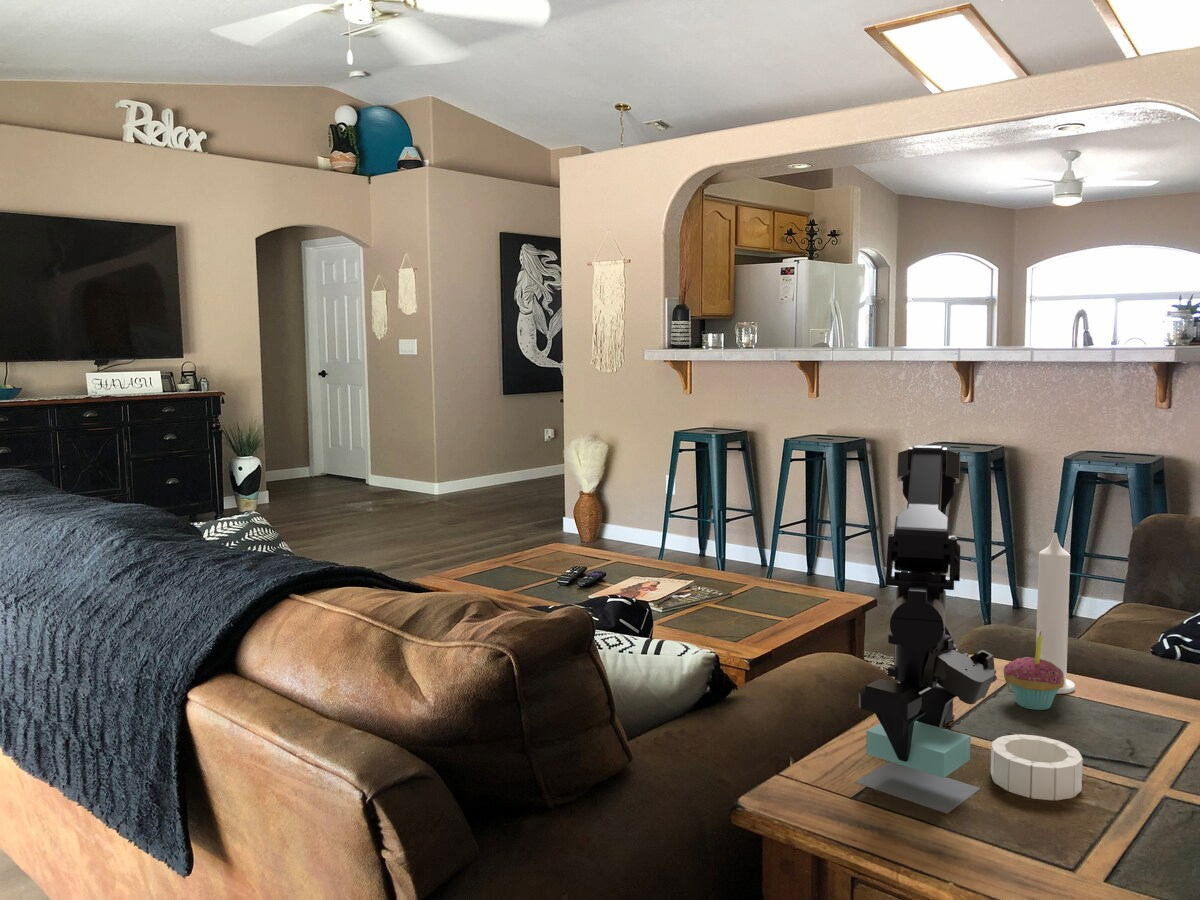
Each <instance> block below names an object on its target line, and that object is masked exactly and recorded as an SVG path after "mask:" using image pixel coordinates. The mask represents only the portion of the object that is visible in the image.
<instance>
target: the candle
mask: <svg viewBox="0 0 1200 900" xmlns="http://www.w3.org/2000/svg"><path fill="white" fill-rule="evenodd" d="M1037 572H1038V573H1037V575H1038V576H1037V577H1038V578H1037V602H1036V603H1037V607H1036V637H1035V639H1036V640H1035V642H1036V643H1035V645H1036V644H1037V636H1039V634H1040V631H1041V636H1042V643H1041V652H1040V659H1041V660H1046V661H1048V662H1051V663H1052V664H1054V665H1055V666H1057V667H1058V668H1059V669H1060V670H1062V672H1063V675H1064V685H1063V687H1062V688H1060V689H1059V690H1058V692H1057V693H1056V694H1069V693H1073V692H1074V691H1075V689H1076V684H1075V683H1074V682H1073V681H1072V680H1070V679H1068V678H1067V670H1068V669H1067V668H1068V667H1067V666H1068V665H1067V664H1068V640H1069V639H1068V638H1069V635H1068V634H1069V609H1070V606H1069V605H1070V579H1071V577H1070V575H1071V554H1070V552H1068V551H1067V550H1066V549H1064V548H1063V547H1062V546H1061V544H1060V541H1059V537H1058V533H1057V532H1053V534H1052V538H1051V541H1050V543H1049V545H1048V546H1047V547H1045V548H1043V549H1042V550H1040V551H1039V552H1038V570H1037Z"/></svg>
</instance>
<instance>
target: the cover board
mask: <svg viewBox="0 0 1200 900" xmlns="http://www.w3.org/2000/svg"><path fill="white" fill-rule="evenodd" d="M865 738H866V744H865V745H866V747H865V748H866V749H865V754H866V755H869V756H872V757H875V758H878V759H880V760H881V759H882V760H884V761H887V762H888V761H890V762H894V763H897V764H900V765H903V766H906V767H909V768H913V769H916V770H919V771H922V772H925V773H929V774H932V775H935V776H938V777H941V778H945V777H947V776H949V775H950V774H952V773H953V772H955V771H956V770H958V769H959V768H961V767H962V766H963V765H964V764H966V763H967V762H969V761H970V760H971V735H969V734H965V733H962V732H958V731H954V730H949V729H946V728H942V727H941V728H940V727H936V726H932V725H929V724H925V723H922V722H918V721H915V722H914V727H913V734H912V741H911V748H910V753H909V758H908V761H907V762H904V761H901V760H899V759H898V758H897V756H896V753H895V751H894V749H893V747H892V745H891V743H890V741H889V739H888V737H887V735H886V733H885V731H884V729H883V727H882V725H881V723H880V722H879V723H878V724H875V725H874V726H872V727H870V728H868V729H866V736H865Z"/></svg>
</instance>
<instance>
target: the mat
mask: <svg viewBox="0 0 1200 900" xmlns="http://www.w3.org/2000/svg"><path fill="white" fill-rule="evenodd" d="M854 783H856V784H858V785H860V786H865V787H866V788H867V787H868V788H870V789H873V790H876V791H879V792H881V793H885V794H888V795H890V796H893V797H896V798H899V799H903V800H905V801H908V802H912V803H915V804H917V805H921V806H923V807H927V808H929V809H932V810H933V811H934V810H935V811H938V812H941V813H944V814H946V815H948V814H949V813H950V812H952V811H953V810H955V809H956V808H958V806H960V805H961V804H963V803H964V802H965V801H966V800H968V799H970V798H971V796H973V795H974V794H977V792H979V790H981V789H982V788H981V787H979V786H975V785H972V784H970V783H965V782H962V781H959V780H956V779H953V778H949V777H947V776H946V777H945V778H941V777H938V776H935V775H932V774H929V773H925V772H922V771H919V770H916V769H913V768H909V767H906V766H903V765H900V764H897V763H894V762H890V761H887V762H885V763H882V764H881V765H879V766H878V767H876V768H875V769H873V770H872V771H870V772H868V773H867V774H865V775H863V776H862V777H860V778H859V779H857V780H855V781H854Z"/></svg>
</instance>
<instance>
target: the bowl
mask: <svg viewBox="0 0 1200 900" xmlns="http://www.w3.org/2000/svg"><path fill="white" fill-rule="evenodd" d="M990 748H991V749H990V750H991V751H990V776H991V778H992V781H993V783H994V784H996V785H997V786H999V787H1001V788H1002V789H1004V790H1005V791H1008V793H1009V792H1010V793H1012V794H1016V795H1018V796H1022V797H1025V798H1029V799H1030V798H1031V799H1034V800H1035V799H1037V800H1046V801H1060V800H1067V799H1072V798H1076V796H1077V795H1078V794H1080V793H1081V792H1082V788H1083V785H1082V784H1083V764H1084V763H1083V759H1084V758H1083V757H1082V755H1081V753H1080V751H1079V750H1078V749H1077V748H1074V747H1073V746H1071V745H1069V743H1066V742H1063V741H1061V740H1056V739H1053V738H1049V737H1046V736H1040V735H1031V734H1016V733H1015V734H1010V735H1009V734H1008V735H1003V736H999V737H997V738H996V739H995V740H992V741H991V746H990Z"/></svg>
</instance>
